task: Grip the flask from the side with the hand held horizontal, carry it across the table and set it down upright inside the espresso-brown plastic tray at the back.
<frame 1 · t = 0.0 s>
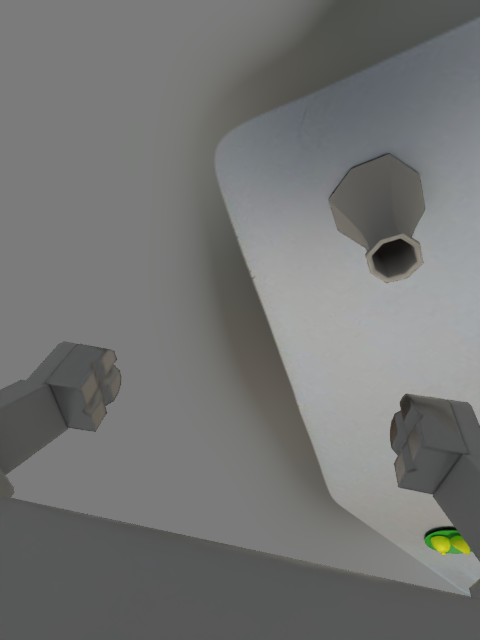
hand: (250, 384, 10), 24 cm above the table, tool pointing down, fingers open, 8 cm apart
flask: (375, 202, 30), on the table
green plate with lemons: (450, 536, 59), on the table
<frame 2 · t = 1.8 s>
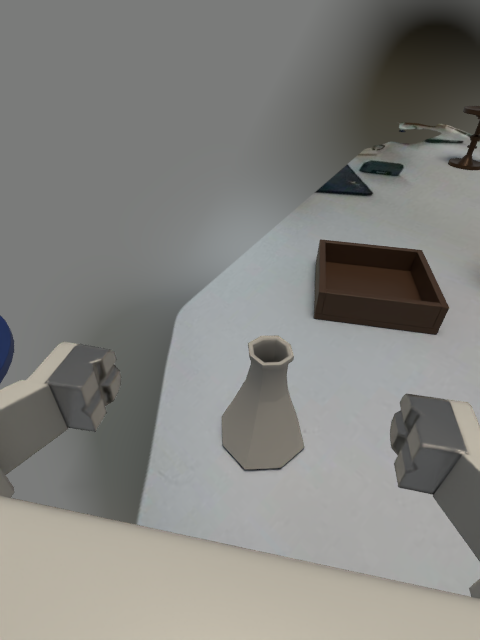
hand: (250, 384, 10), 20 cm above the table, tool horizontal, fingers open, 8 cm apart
tray: (368, 294, 50), on the table
flask: (261, 434, 32), on the table
candlestick: (464, 166, 106), on the table
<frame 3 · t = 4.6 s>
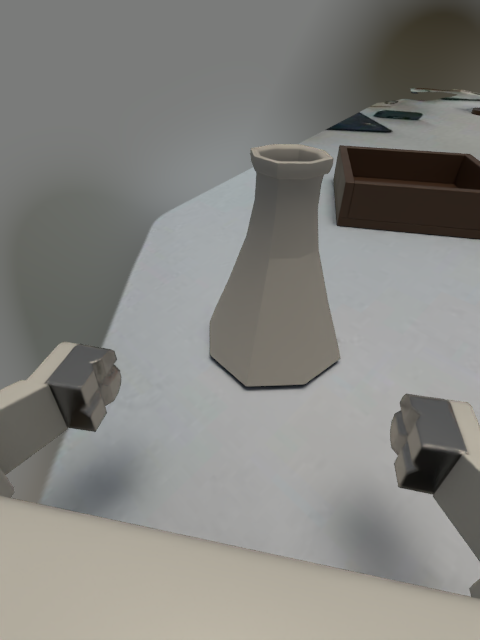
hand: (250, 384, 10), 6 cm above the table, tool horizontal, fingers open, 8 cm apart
tray: (404, 205, 39), on the table
flask: (270, 345, 20), on the table
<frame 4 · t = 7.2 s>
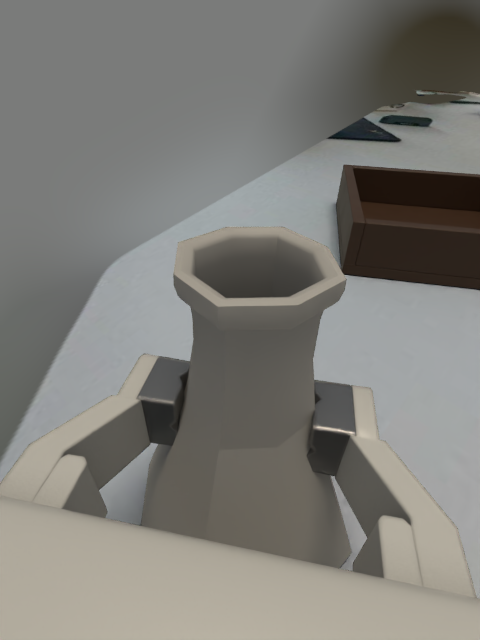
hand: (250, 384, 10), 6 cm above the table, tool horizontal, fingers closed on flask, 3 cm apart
tray: (424, 241, 31), on the table
flask: (241, 511, 13), on the table, touching gripper
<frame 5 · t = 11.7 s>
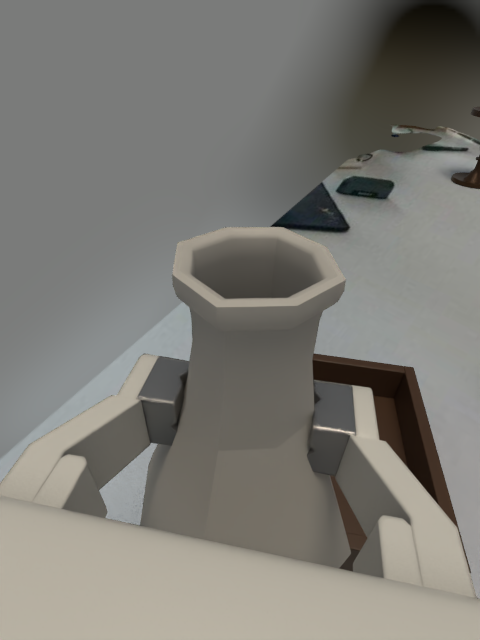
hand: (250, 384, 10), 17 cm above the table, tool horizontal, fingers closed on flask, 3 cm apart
tray: (314, 459, 27), on the table
flask: (240, 511, 13), point 11 cm above the table, touching gripper
candlestick: (472, 183, 83), on the table
when the fingers open (6 cm above the table, at t = 16.3 s): flask stays where it is, resting on tray.
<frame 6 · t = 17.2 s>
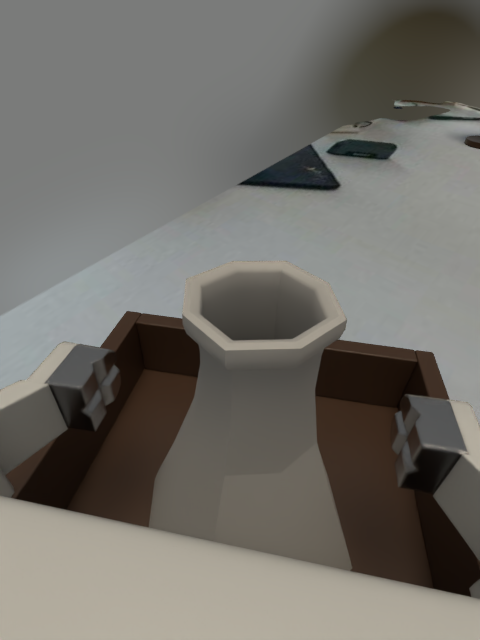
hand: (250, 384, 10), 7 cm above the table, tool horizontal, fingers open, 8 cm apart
tray: (241, 528, 14), on the table
flask: (244, 525, 13), point 1 cm above the table, touching tray
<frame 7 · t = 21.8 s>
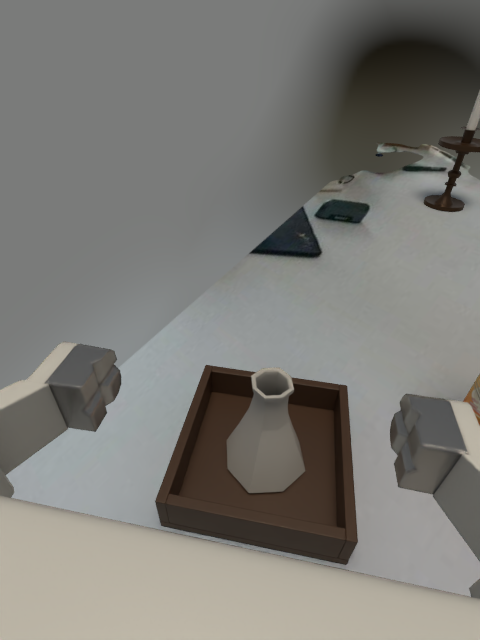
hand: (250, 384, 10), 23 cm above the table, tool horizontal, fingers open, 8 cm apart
tray: (262, 460, 34), on the table
flask: (264, 458, 33), point 1 cm above the table, touching tray
candlestick: (442, 205, 90), on the table
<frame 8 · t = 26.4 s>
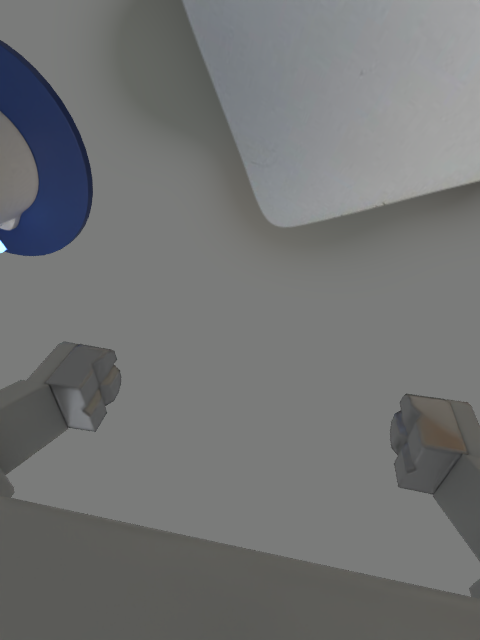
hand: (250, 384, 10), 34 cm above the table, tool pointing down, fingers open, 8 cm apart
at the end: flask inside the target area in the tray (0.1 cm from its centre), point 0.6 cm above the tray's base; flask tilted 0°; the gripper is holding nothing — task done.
